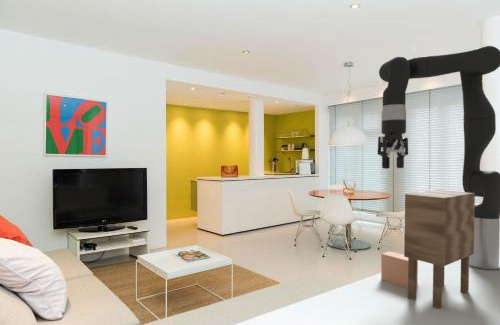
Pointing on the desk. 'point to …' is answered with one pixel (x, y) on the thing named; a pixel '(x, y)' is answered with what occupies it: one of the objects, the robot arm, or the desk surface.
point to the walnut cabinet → (438, 236)
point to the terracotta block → (395, 268)
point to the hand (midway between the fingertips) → (393, 168)
